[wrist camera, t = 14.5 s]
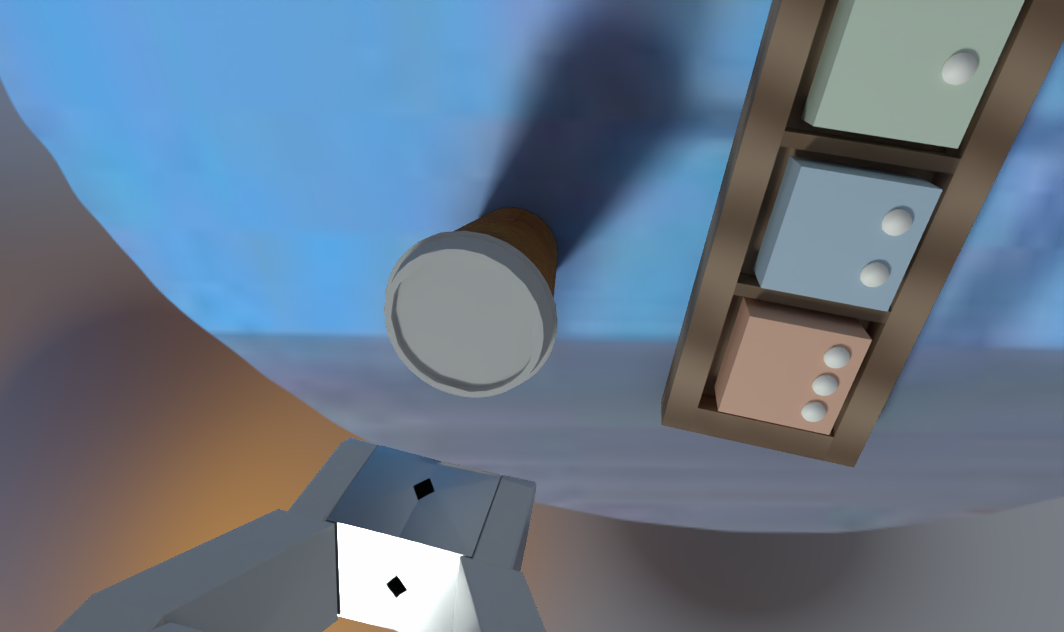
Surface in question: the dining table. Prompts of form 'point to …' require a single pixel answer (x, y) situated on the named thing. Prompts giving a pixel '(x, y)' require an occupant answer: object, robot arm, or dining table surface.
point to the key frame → (779, 132)
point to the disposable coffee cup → (476, 304)
